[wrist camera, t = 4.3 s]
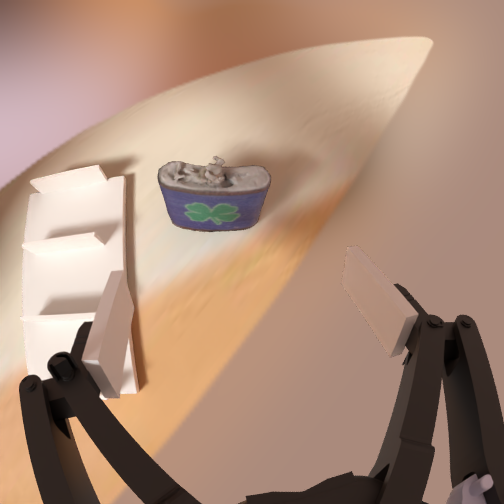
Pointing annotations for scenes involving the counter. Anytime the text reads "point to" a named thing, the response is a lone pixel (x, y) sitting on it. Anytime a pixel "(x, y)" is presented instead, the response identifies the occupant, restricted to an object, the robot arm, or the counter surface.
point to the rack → (71, 262)
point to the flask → (213, 195)
